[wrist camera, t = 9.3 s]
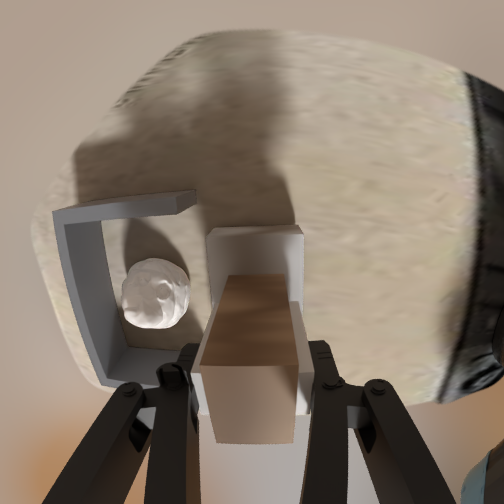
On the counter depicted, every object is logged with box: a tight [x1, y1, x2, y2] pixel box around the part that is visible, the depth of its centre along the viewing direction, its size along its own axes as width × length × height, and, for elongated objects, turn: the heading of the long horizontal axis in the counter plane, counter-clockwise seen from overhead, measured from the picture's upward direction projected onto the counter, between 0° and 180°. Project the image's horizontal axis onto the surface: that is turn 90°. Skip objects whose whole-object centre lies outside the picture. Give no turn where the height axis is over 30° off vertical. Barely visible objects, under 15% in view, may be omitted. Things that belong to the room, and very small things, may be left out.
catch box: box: [52, 190, 197, 389], centre depth 20 cm, size 10×15×5 cm, turn 2°
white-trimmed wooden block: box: [199, 225, 304, 444], centre depth 16 cm, size 6×10×12 cm, turn 3°
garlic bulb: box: [121, 258, 191, 329], centre depth 20 cm, size 6×6×5 cm
